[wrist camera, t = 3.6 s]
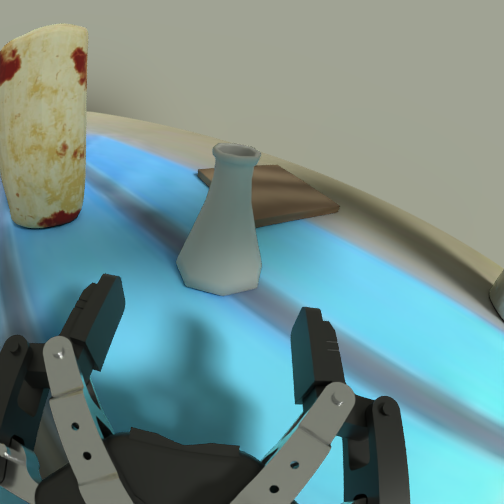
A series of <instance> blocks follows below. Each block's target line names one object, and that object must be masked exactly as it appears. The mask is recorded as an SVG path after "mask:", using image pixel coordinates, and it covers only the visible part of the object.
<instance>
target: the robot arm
mask: <svg viewBox="0 0 504 504" xmlns="http://www.w3.org/2000/svg"><path fill="white" fill-rule="evenodd" d="M489 294H490V298H491V301H492V303H493V305H494V307H495V309H496V310H497V312H498V313H499V315H500V316H501V317H502V318H503V320H504V270H503V271H502V273H501V274H500V276H499V277H498V278H497V280H496V281H495V283H494V285H493V286H492V288H491V289H490V292H489ZM124 309H125V297H124V292H123V287H122V281H121V278H120V277H119V276H115V275H110V274H103V275H102V276H101V278H100V280H99V282H98V283H97V284H96V283H92V284H90V285H89V286H88V287H87V288H86V289H84V291H83V292H82V294H81V296H80V298H79V301H77V303H76V305H75V308H73V310H72V312H71V314H70V316H69V317H68V319H67V321H66V323H65V325H64V327H63V329H62V331H61V333H60V334H59V336H55V337H52V338H51V339H49V340H48V341H47V342H46V343H43V344H41V343H28V342H27V340H26V339H25V338H24V337H23V336H21V335H14V336H11V337H10V338H8V339H7V341H6V342H5V344H4V346H3V348H2V350H1V352H0V486H1V487H3V488H5V489H6V490H8V491H10V492H11V493H13V494H14V495H16V496H18V497H19V498H21V499H23V500H25V501H26V502H28V503H30V504H298V503H297V502H296V501H295V500H294V499H295V497H296V496H297V495H298V494H299V492H300V491H301V490H302V489H303V487H304V486H305V485H306V484H307V482H308V481H309V480H310V478H311V477H312V476H313V474H314V473H315V472H316V470H317V469H318V468H319V466H320V465H321V463H322V462H323V460H324V459H325V458H326V456H327V455H328V453H329V451H330V449H331V442H332V440H333V439H334V437H335V436H340V437H342V442H343V469H344V502H343V503H341V504H410V489H409V475H408V465H407V455H406V447H405V439H404V432H403V426H402V420H401V414H400V408H399V406H398V404H397V402H396V401H395V400H394V399H393V398H391V397H388V396H381V397H379V398H377V399H376V400H371V399H368V398H364V397H361V396H358V395H356V394H354V392H353V390H352V389H351V388H350V387H349V386H348V385H346V382H345V379H344V373H343V368H342V362H341V357H340V352H339V347H338V343H337V337H336V332H335V330H334V328H333V327H332V325H331V324H330V322H329V321H323V319H322V314H321V310H320V309H319V308H310V307H302V309H301V311H300V313H299V315H298V317H297V319H296V321H295V324H294V326H293V328H292V332H291V351H292V365H293V380H294V396H295V404H303V412H302V413H301V414H300V416H299V417H298V418H297V419H296V421H295V422H294V423H293V425H292V426H291V427H290V428H289V429H288V431H287V432H286V433H285V434H284V436H283V437H282V438H281V439H280V440H279V441H278V443H277V444H276V445H275V446H274V447H273V448H272V449H271V450H270V451H269V452H268V453H267V454H266V455H265V456H264V457H263V459H262V460H261V461H259V460H258V459H256V458H255V457H253V456H252V455H250V454H248V453H245V452H243V451H240V450H239V447H240V446H236V445H225V444H216V443H208V444H197V445H182V444H179V443H177V442H174V441H172V440H170V439H168V438H166V437H163V436H161V435H159V434H157V433H153V432H149V431H145V430H141V429H137V428H133V427H131V430H130V432H120V433H116V434H115V432H114V430H113V428H112V426H111V424H110V422H109V420H108V419H107V417H106V415H105V413H104V411H103V409H102V406H101V404H100V401H99V399H98V396H97V393H96V391H95V388H94V385H93V382H92V379H91V377H90V375H91V373H92V370H97V371H100V372H101V369H102V366H103V363H104V360H105V358H106V355H107V352H108V350H109V347H110V345H111V342H112V339H113V337H114V334H115V332H116V329H117V327H118V325H119V322H120V320H121V317H122V315H123V312H124ZM49 389H51V393H52V398H50V399H49V403H50V407H51V411H52V414H53V418H54V421H55V424H56V427H57V430H58V433H59V436H60V439H61V442H62V445H63V447H64V450H65V453H66V455H67V458H68V460H69V462H70V463H68V464H67V465H65V466H64V467H62V468H61V469H59V470H57V471H56V472H54V473H53V474H51V475H50V476H48V477H47V478H45V479H43V480H42V478H41V476H40V474H39V469H40V465H39V462H38V459H37V456H36V455H35V453H34V452H33V451H34V446H35V441H36V437H37V432H38V428H39V424H40V420H41V417H42V413H43V409H44V406H45V402H46V399H47V396H48V392H49Z"/></svg>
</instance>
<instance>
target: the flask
mask: <svg viewBox="0 0 504 504" xmlns="http://www.w3.org/2000/svg"><path fill="white" fill-rule="evenodd" d="M212 151H213V155H214V156H215V157H216V162H215V168H214V175H213V179H212V182H211V185H210V188H209V191H208V194H207V198H206V200H205V202H204V204H203V206H202V208H201V211H200V213H199V215H198V217H197V219H196V221H195V223H194V225H193V228H192V230H191V232H190V234H189V236H188V238H187V240H186V242H185V244H184V246H183V248H182V250H181V252H180V254H179V256H178V258H177V260H176V264H177V266H178V269H179V271H180V273H181V276H182V278H183V280H184V283H185V285H186V286H187V287H191V288H195V289H198V290H202V291H206V292H209V293H213V294H217V295H221V296H226V295H230V294H234V293H239V292H243V291H247V290H251V289H255V288H257V286H258V281H259V277H260V272H261V267H262V263H261V257H260V251H259V246H258V241H257V236H256V230H255V223H254V216H253V210H252V203H251V197H252V175H253V170H254V165H256V164H257V162H258V161H259V159H260V156H261V152H259V151H258V150H256V149H255V148H253V147H251V146H246V145H241V144H236V143H218V144H217V145H215V146H214V147H213V150H212Z"/></svg>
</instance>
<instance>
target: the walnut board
mask: <svg viewBox="0 0 504 504" xmlns="http://www.w3.org/2000/svg"><path fill="white" fill-rule="evenodd" d="M213 175H214V168H210V169H198V177H199V178H200V179H201V180H202V181H203V182H204V183H205V184H206V185H208V186H209V187H210V185H211V182H212V179H213ZM251 203H252V210H253V216H254V223H255V228H257V227H262V226H267V225H272V224H277V223H282V222H288V221H293V220H298V219H303V218H309V217H314V216H319V215H325V214H330V213H336V212H338V210H339V207H340V205H338V204H337V203H335V202H334V201H332V200H331V199H329V198H328V197H326V196H325V195H323V194H322V193H320V192H319V191H317V190H316V189H314V188H313V187H311V186H310V185H308V184H307V183H305V182H304V181H302V180H301V179H299V178H297V177H296V176H294V175H293V174H291V173H289V172H288V171H286V170H285V169H283V168H281V167H280V166H278V165H260V166H254V170H253V175H252V197H251Z"/></svg>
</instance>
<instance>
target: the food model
mask: <svg viewBox="0 0 504 504" xmlns="http://www.w3.org/2000/svg"><path fill="white" fill-rule="evenodd" d="M87 51H88V31H87V29H86V28H84V27H80V26H76V25H71V24H62V23H61V24H55V25H48V26H45V27H41V28H38V29H35V30H33V31H31V32H29V33H27V34H25V35H23V36H20V37H18V38H15V39H13V40H12V41H10V42H9V43H8V44H6V45H5V46H4V47H3V48H2V50H1V51H0V172H1V179H2V183H3V187H4V190H5V194H6V197H7V200H8V204H9V208H10V214H11V218H12V220H13V221H14V222H15V223H16V224H17V225H20V226H24V227H27V228H44V227H51V226H56V225H61V224H65V223H69V222H71V221H72V220H74V219H75V218H77V216H78V214H79V213H80V211H81V208H82V205H83V199H84V189H85V166H86V96H87V95H86V94H87V93H86V92H87Z"/></svg>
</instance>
